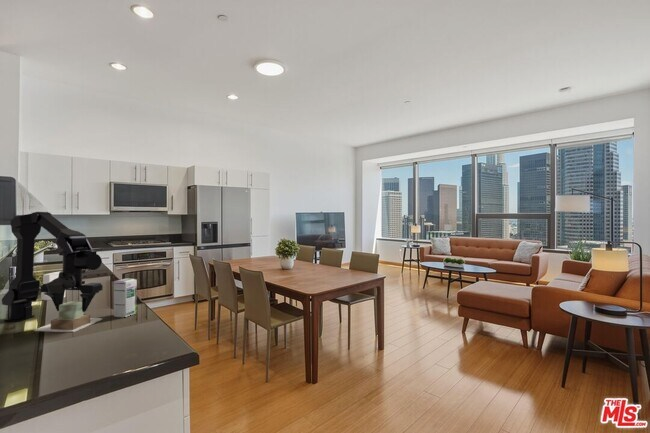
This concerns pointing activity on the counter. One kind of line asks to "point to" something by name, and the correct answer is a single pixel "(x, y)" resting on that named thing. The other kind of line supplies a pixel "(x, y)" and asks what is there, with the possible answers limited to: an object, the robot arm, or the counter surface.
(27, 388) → the counter surface
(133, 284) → the syrup box
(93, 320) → the board
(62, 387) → the counter surface
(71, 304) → the sage block
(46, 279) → the cylinder with rectangular tab
